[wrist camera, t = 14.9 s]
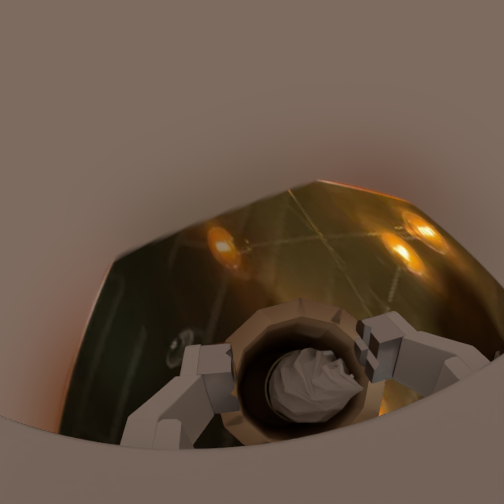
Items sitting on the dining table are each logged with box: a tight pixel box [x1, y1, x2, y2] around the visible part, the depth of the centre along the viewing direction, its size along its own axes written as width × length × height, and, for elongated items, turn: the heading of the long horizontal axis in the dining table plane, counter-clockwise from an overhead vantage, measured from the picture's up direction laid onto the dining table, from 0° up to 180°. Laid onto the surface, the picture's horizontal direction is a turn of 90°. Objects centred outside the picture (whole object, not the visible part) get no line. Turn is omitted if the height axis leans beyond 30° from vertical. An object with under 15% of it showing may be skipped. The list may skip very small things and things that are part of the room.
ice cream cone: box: [265, 348, 364, 423], centre depth 17 cm, size 5×5×15 cm
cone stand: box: [221, 298, 385, 446], centre depth 18 cm, size 11×11×13 cm
